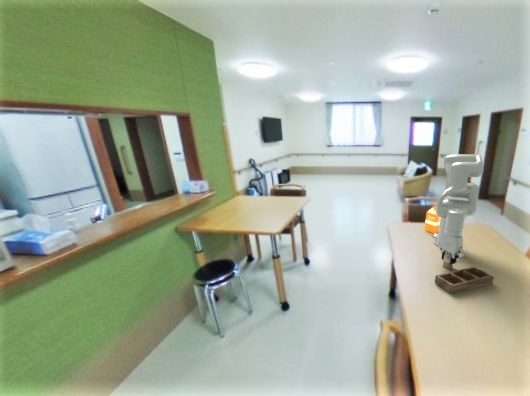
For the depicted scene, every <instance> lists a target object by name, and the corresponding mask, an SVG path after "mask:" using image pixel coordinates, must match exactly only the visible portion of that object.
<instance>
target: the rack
mask: <svg viewBox="0 0 530 396" xmlns="http://www.w3.org/2000/svg"><path fill="white" fill-rule="evenodd" d="M494 277H495V276H494V275H493V274H491V273H489V272H487V271H485V270H482V269H480V268H478V267H476V266H475V265H474V266H470V267H466V268H462V269H457V270H454V271H453V270H452V271H449V272H445V273H440V274H436V275H435V278H434V284H435V285H437V286H438V287H440V288H442V289H443V290H445V291H447V292H448V293H449V294H451V295H453V294H457V293H461V292H465V291H469V290H473V289H478V288H481V287H485V286H489V285H493V283H494Z"/></svg>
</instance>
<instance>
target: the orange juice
mask: <svg viewBox="0 0 530 396" xmlns="http://www.w3.org/2000/svg"><path fill="white" fill-rule="evenodd" d="M439 224H440V217H438V216H437V215H436V205H434V206H432V207H431V208H430V209H429V210H427V211H426V215H425V221H424V231H426V230H427V231H426V232H430V233H432V234H435V233H436V234H438V231H439Z"/></svg>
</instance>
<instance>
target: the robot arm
mask: <svg viewBox="0 0 530 396" xmlns="http://www.w3.org/2000/svg"><path fill="white" fill-rule="evenodd" d="M443 167H444V169H445V173H446V179H445V181H446V183H445V189H444V190H443V191H442V192H441V193H440V194H439V196H438V197H437V199H436V203H435V206H436V215H437V216H438V217H440V224H439V231H438V232H437V233H433V235H432V237H433V238H435V239H434V241H433V243H434V244H435V245H436V246H438V247H439V249H440V252H441V260H442V261H444V255H445V251H448V252H450V253H452V258H451V261H450V264H453V265H454V264H456V263H457V259H459V258H463V257H464V256H465V254H464V252H463V247H464V239H463V238H464V237H463V230H464V224H465V220H466V218H468V217H473V216H474V215H475V214H476V211H477V207H478V200H479V186H478V185H477V184H476V183H473V182H468V180H469V179H468V178H480V177H482V175H483V172H484V163H483V158H482V156H481V155H480V154H478V153H477V154H476V153H474V154H472V153H471V154H470V153H469V154H467V153H465V154H463V153H462V154H459V153H458V154H457V153H453V154H449V155H446V156H445V157H444V159H443ZM446 197H448V199H445V198H446ZM449 197H450V198H449ZM451 198H452V199H451ZM454 198H456V199H454ZM457 198H459V199H457ZM465 199H466V200H465Z"/></svg>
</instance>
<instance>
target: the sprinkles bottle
mask: <svg viewBox="0 0 530 396" xmlns="http://www.w3.org/2000/svg"><path fill="white" fill-rule="evenodd" d="M451 258H452V253H450V252H448V251H445V255H444V260H442V266H443V267H445V268H447V269H452V268H453V265H454V264H450V261H451Z"/></svg>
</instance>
